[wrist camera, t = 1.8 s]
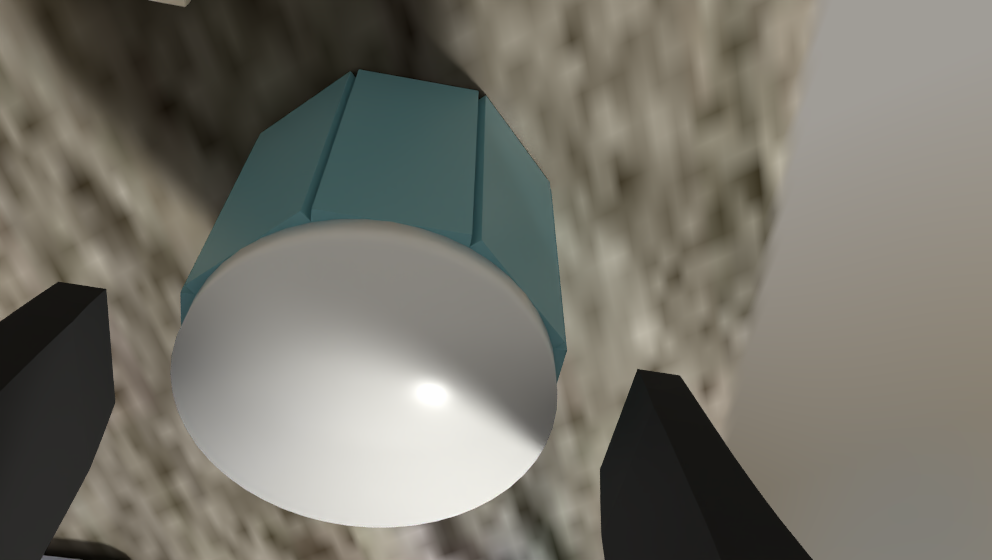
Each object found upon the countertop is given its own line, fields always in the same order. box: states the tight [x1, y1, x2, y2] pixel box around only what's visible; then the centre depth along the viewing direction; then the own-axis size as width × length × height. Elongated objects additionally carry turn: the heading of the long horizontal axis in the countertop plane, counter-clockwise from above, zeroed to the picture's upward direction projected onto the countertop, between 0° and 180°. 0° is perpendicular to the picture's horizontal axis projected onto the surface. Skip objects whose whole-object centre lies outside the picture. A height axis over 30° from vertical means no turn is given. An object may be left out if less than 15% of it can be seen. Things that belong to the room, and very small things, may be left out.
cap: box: [171, 69, 567, 527], centre depth 14 cm, size 5×5×5 cm
